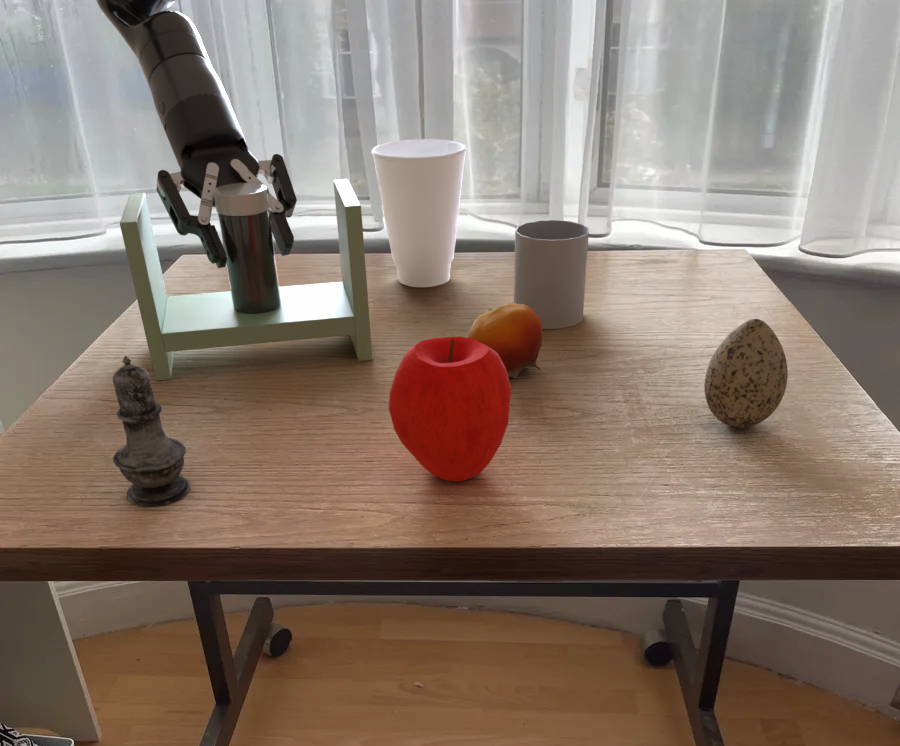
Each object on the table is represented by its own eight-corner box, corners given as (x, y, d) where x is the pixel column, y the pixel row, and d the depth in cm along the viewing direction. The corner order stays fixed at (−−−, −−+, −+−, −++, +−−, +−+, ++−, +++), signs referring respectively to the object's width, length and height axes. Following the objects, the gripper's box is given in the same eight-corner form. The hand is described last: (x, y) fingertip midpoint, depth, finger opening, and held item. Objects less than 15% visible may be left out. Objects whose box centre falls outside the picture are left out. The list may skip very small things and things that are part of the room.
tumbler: (232, 316, 96) (212, 196, 89) (232, 299, 100) (213, 184, 93) (283, 312, 97) (267, 193, 90) (281, 295, 101) (265, 181, 94)
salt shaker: (127, 514, 74) (88, 376, 66) (119, 482, 78) (83, 348, 71) (199, 499, 75) (169, 363, 68) (188, 468, 80) (159, 337, 73)
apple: (377, 492, 76) (365, 353, 68) (419, 440, 83) (413, 310, 76) (489, 511, 73) (490, 368, 66) (523, 456, 80) (527, 322, 73)
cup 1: (361, 281, 120) (351, 150, 110) (420, 260, 127) (415, 135, 118) (428, 299, 114) (423, 162, 104) (486, 275, 121) (486, 145, 111)
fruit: (530, 381, 90) (497, 305, 88) (475, 402, 95) (443, 332, 93) (572, 355, 95) (541, 283, 93) (517, 377, 101) (487, 309, 98)
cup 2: (503, 323, 107) (504, 236, 101) (526, 301, 113) (528, 217, 107) (572, 332, 104) (577, 243, 98) (591, 309, 110) (597, 223, 104)
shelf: (156, 381, 95) (119, 222, 86) (161, 340, 105) (129, 193, 95) (372, 359, 99) (361, 205, 89) (359, 322, 108) (347, 178, 98)
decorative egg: (697, 438, 82) (715, 332, 76) (698, 405, 88) (714, 303, 82) (779, 444, 81) (803, 337, 75) (774, 410, 87) (796, 308, 81)
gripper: (255, 132, 102) (310, 265, 101) (128, 148, 96) (185, 289, 95) (266, 84, 95) (325, 225, 94) (130, 98, 89) (192, 249, 88)
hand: (255, 257), depth 94 cm, fingers open, 6 cm apart
